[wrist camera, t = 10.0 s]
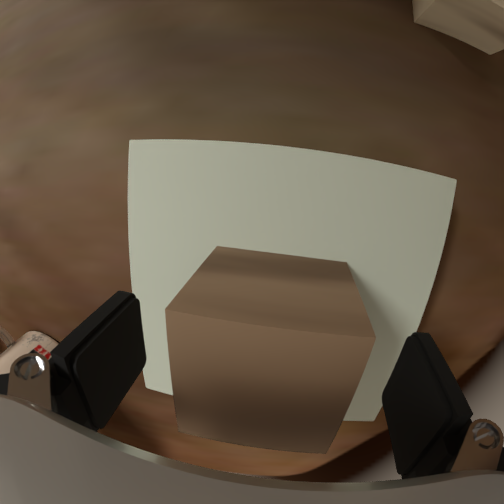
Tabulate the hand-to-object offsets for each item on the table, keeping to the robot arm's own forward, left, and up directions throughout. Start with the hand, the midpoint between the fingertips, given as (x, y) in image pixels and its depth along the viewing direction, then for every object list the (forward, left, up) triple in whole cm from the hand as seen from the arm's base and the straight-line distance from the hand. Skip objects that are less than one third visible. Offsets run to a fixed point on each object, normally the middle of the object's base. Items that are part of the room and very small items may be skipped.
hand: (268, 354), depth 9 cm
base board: (0, 0, -6) cm, 6 cm away
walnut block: (0, 0, -3) cm, 3 cm away
